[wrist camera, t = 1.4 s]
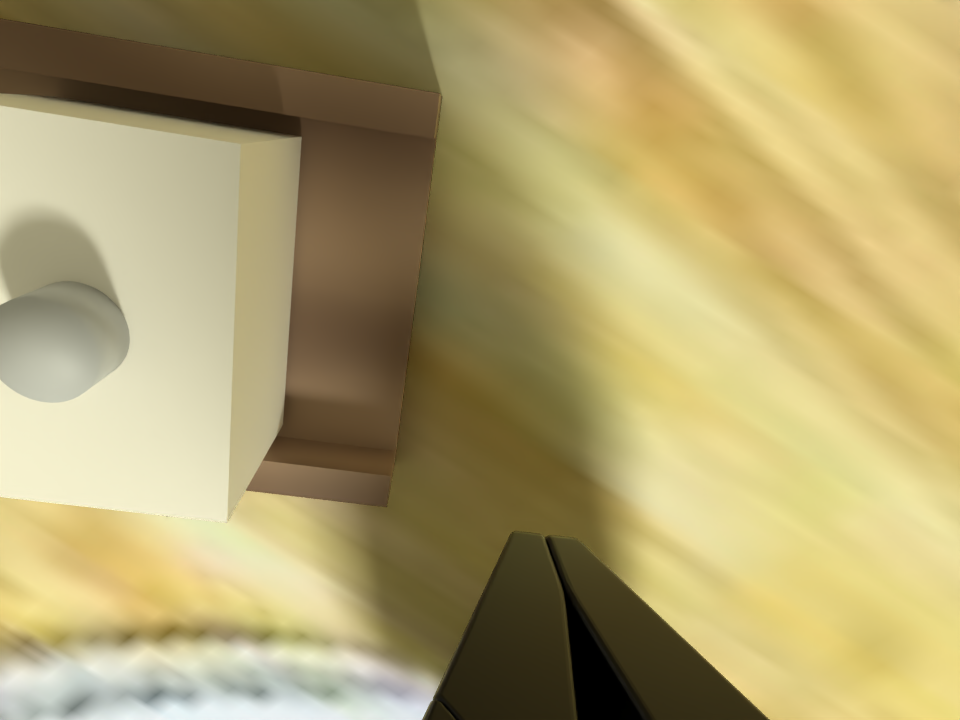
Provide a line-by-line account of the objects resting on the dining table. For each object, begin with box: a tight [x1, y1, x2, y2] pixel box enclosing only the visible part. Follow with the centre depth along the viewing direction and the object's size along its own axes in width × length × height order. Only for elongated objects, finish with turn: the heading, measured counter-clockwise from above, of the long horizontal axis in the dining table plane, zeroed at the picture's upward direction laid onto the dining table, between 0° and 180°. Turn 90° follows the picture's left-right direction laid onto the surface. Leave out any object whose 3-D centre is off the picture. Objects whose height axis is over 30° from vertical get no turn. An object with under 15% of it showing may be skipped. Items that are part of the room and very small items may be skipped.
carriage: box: [0, 93, 302, 523], centre depth 15 cm, size 8×6×6 cm
